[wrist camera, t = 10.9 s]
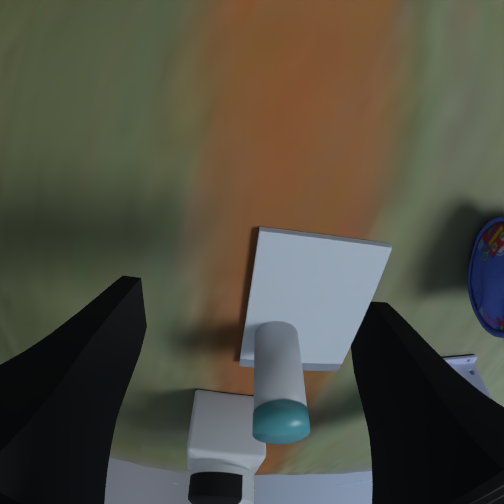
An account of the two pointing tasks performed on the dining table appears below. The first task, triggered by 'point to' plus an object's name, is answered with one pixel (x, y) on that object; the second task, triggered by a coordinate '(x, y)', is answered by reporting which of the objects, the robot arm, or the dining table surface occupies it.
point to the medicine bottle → (222, 449)
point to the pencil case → (488, 277)
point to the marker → (278, 386)
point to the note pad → (312, 291)
